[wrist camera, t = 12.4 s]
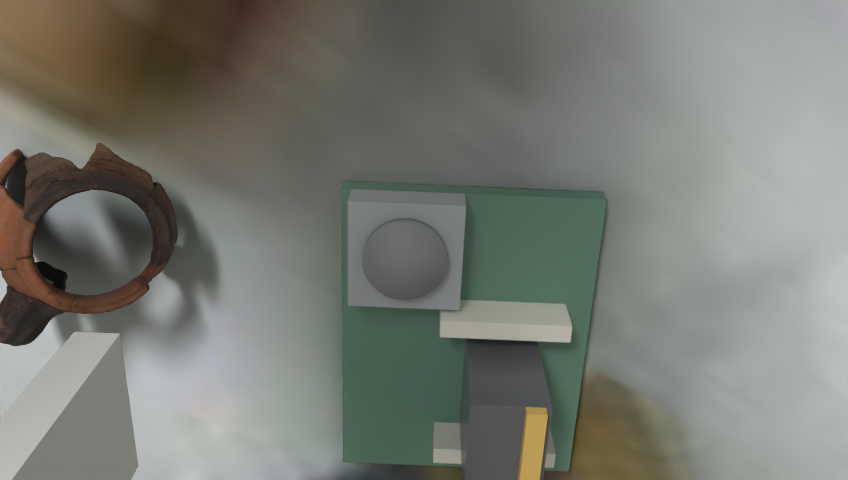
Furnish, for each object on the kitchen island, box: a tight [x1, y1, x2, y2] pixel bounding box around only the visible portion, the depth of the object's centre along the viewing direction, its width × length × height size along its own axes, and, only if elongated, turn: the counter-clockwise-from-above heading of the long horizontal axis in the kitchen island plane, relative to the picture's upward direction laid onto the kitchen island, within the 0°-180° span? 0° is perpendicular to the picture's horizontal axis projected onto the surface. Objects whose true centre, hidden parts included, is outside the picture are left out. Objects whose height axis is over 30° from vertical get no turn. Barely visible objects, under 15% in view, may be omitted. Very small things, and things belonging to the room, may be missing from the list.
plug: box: [460, 338, 552, 480], centre depth 42 cm, size 6×4×8 cm, turn 178°
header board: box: [342, 181, 607, 472], centre depth 44 cm, size 18×14×4 cm
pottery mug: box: [0, 143, 178, 346], centre depth 41 cm, size 12×10×8 cm
